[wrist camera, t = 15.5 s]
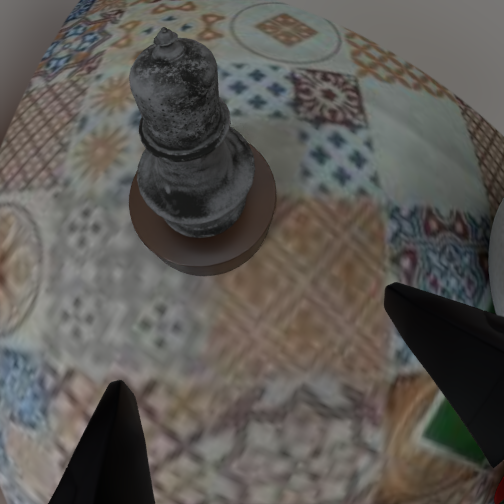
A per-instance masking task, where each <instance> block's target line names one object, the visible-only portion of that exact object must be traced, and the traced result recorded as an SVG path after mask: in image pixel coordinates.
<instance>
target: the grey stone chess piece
mask: <svg viewBox="0 0 504 504" xmlns="http://www.w3.org/2000/svg"><path fill="white" fill-rule="evenodd" d="M154 43H155V44H153V45H151V46H149V47H148V48H146V49H145V50H144V51H143V52H142V53H141V54H140V55H139V56H138V57H137V59H136V60H135V62H134V64H133V66H132V68H131V71H130V75H129V78H130V87H131V91H132V93H133V96H134V98H135V101H136V103H137V106H138V108H139V111H140V113H141V115H142V118H141V120H140V124H139V134H140V139H141V142H142V143H143V145H144V146H145V148H146V149H145V151H144V152H143V154H142V156H141V159H140V162H139V165H138V174H137V182H138V186H139V190H140V194H141V195H142V197H143V199H144V200H145V202H146V204H147V205H148V206H149V207H150V208H151V209H152V210H153V211H154V212H155V213H156V214H158V215H159V216H161V217H163V218H164V219H165V221H166V223H167V224H168V225H169V226H170V227H172V228H173V229H174V230H175V231H177V232H179V233H181V234H183V235H185V236H189V237H195V238H204V237H211V236H214V235H217V234H220V233H222V232H224V231H225V230H227V229H228V228H230V227H231V226H232V225H233V224H234V223H235V222H236V221H237V220H238V219H239V217H240V215H241V213H242V211H243V209H244V207H245V202H246V197H247V194H248V192H249V190H250V188H251V186H252V183H253V178H254V173H255V163H254V155H253V153H252V151H251V148H250V146H249V144H248V142H247V141H246V140H245V139H244V138H243V136H242V135H241V134H240V133H239V132H237V131H236V130H234V129H233V128H231V127H230V112H229V110H228V108H227V105H226V104H225V102H224V101H223V100H222V99H221V98H220V97H219V91H218V72H217V63H216V60H215V58H214V56H213V54H212V52H211V51H210V50H209V49H208V48H207V47H206V46H204V45H203V44H201V43H199V42H197V41H195V40H192V39H187V38H178V35H177V34H176V33H175V32H172V31H171V30H169V29H167V28H165V27H163V28H162V29H161V31H160V32H159V33H158V34H157V36H156V37H155V38H154Z"/></svg>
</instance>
